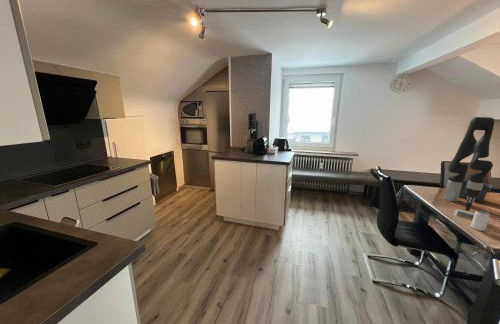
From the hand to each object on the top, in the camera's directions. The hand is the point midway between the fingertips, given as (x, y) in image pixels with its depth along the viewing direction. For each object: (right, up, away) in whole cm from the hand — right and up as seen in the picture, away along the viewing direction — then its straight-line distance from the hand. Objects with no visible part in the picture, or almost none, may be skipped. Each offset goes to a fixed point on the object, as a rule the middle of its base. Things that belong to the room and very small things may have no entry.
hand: (467, 210), depth 149 cm
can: (-7, -9, -13) cm, 18 cm away
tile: (+2, -3, +3) cm, 5 cm away
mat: (+2, -5, +3) cm, 6 cm away
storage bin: (+39, +3, +35) cm, 52 cm away
